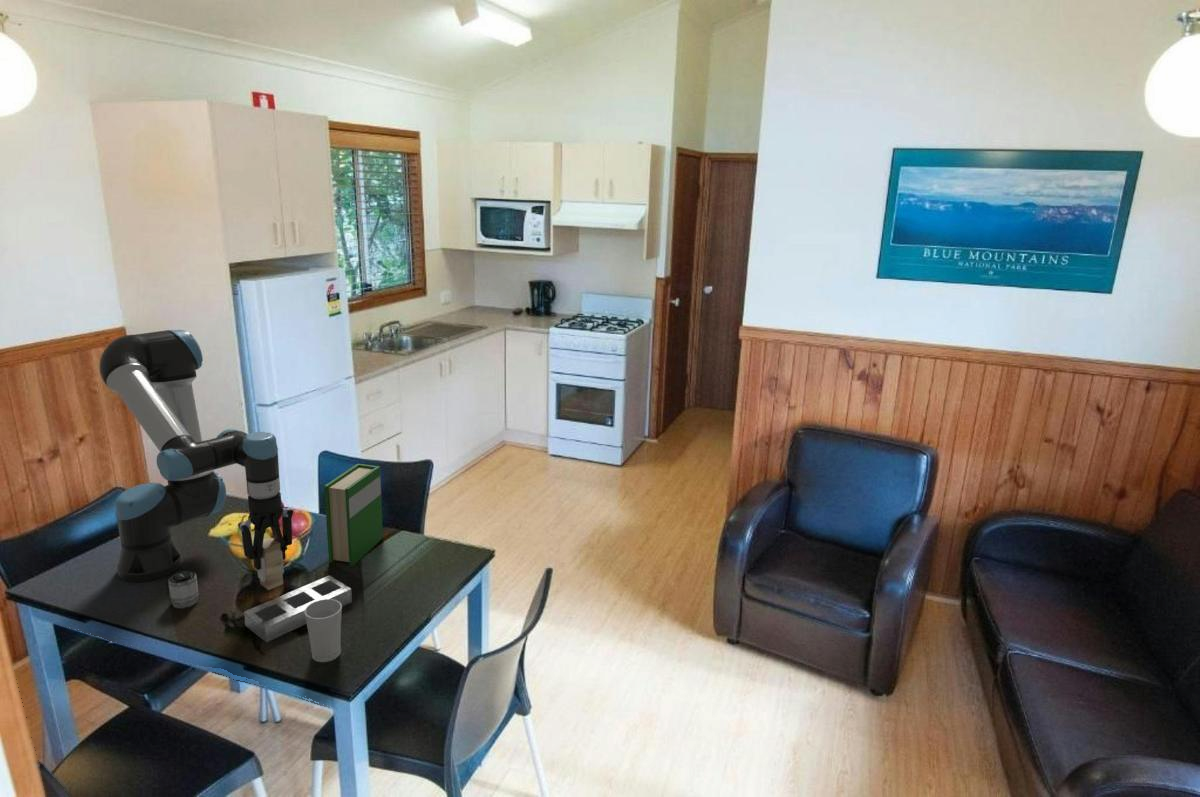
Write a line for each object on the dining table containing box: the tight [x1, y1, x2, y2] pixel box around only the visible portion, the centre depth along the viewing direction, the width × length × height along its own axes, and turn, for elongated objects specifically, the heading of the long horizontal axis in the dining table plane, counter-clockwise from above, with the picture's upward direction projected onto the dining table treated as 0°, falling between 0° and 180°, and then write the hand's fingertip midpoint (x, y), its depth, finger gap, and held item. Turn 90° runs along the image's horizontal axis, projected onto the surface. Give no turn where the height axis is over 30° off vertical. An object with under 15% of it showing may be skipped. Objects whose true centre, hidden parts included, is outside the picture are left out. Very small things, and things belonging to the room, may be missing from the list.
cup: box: [305, 599, 343, 663], centre depth 162 cm, size 8×8×12 cm
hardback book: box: [323, 463, 384, 567], centre depth 207 cm, size 18×7×24 cm, turn 168°
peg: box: [259, 537, 284, 591], centre depth 182 cm, size 4×4×12 cm
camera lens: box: [167, 570, 199, 609], centre depth 179 cm, size 6×6×8 cm
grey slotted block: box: [243, 575, 353, 643], centre depth 178 cm, size 10×23×4 cm, turn 142°
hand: (271, 575), depth 183 cm, fingers closed on peg, 4 cm apart
